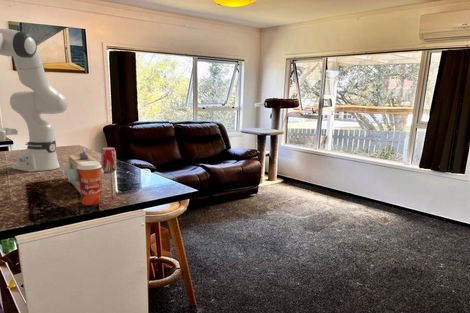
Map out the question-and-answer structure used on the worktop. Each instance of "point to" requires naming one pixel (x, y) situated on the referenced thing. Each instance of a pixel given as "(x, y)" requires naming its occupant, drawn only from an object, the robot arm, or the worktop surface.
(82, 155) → the potentiometer
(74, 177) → the teal knob
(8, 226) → the worktop surface
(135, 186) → the worktop surface
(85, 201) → the coffee cup
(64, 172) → the cream knob
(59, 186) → the worktop surface
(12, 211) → the worktop surface
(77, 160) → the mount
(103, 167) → the soda can
